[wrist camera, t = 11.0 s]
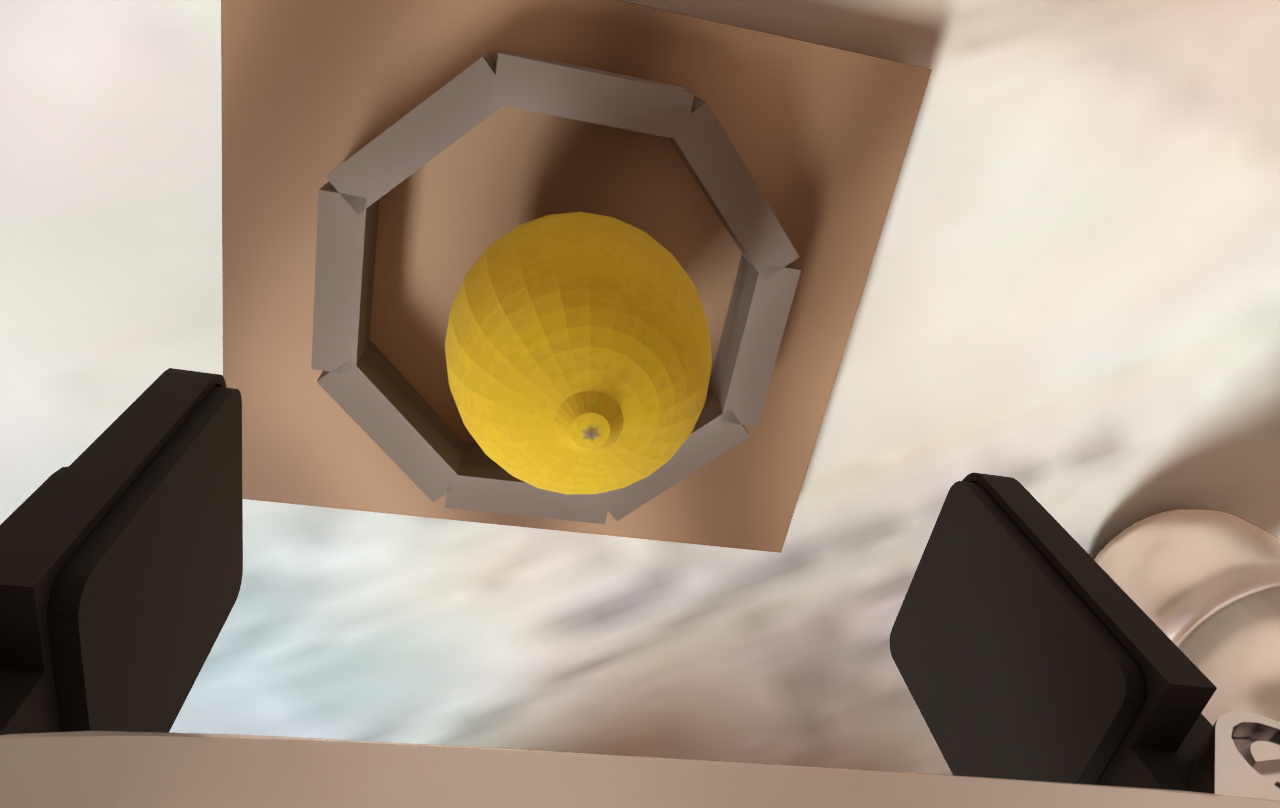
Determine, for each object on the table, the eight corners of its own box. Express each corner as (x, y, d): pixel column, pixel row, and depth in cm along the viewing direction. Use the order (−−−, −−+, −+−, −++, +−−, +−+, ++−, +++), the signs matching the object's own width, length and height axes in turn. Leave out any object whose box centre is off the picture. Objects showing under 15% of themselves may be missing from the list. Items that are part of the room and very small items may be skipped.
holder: (906, 65, 21) (967, 74, 18) (768, 525, 27) (797, 589, 24) (243, -80, 18) (187, -99, 15) (241, 469, 24) (200, 534, 21)
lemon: (446, 370, 22) (402, 544, 15) (482, 158, 20) (452, 239, 13) (649, 408, 23) (701, 586, 16) (704, 210, 21) (794, 312, 14)
